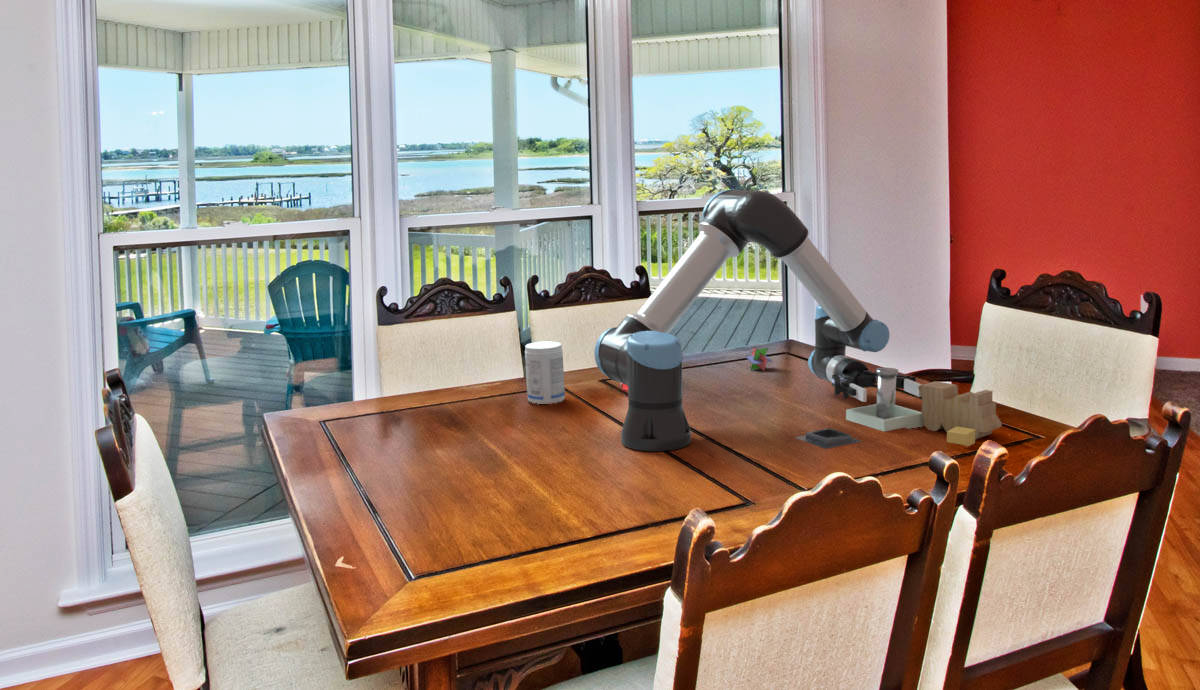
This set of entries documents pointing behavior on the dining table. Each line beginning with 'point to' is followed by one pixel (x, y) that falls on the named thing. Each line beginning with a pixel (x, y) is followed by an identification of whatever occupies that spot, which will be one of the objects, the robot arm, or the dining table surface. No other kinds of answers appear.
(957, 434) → the tan rectangular block
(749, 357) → the geometric puzzle
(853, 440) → the collar plate
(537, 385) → the supplement tub
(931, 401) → the toy train
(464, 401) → the dining table surface
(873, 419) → the tray
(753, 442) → the dining table surface
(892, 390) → the pin
